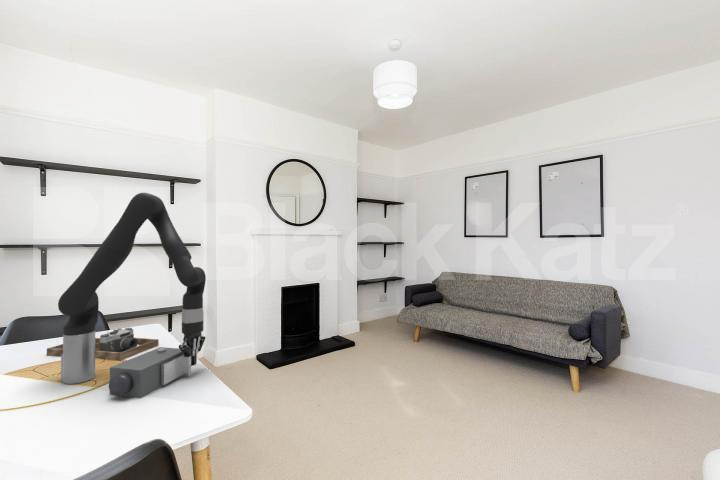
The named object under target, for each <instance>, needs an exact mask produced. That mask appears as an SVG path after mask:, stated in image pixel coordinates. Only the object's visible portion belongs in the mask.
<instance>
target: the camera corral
mask: <svg viewBox="0 0 720 480" xmlns="http://www.w3.org/2000/svg"><path fill="white" fill-rule="evenodd" d="M134 338H135V339H137V341H138V345H137V347H134V348H131V349H129V350H123V351H120V352H108V351H100V348H99V349H96V350H95V359H98V360H99V359H100V360H111V361H112V360H113V361H123V360H125V359H128V358H130V357H133V356H136V355H138V354H141V353H144V352H147V351H148V350H151V349H153V348H156V347H158V346H159V340H160V339H158V338H146V337H145V338H143V337H134ZM159 347H160V346H159Z"/></svg>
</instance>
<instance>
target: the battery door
mask: <svg viewBox="0 0 720 480" xmlns="http://www.w3.org/2000/svg"><path fill="white" fill-rule="evenodd" d="M191 375H192V366H191V356H186V355H180V356H178V357H176V358H174V359H172V360H170V361H168V362H165V363H163V364H161V385H163V386H165V385H167V384H168V382H169V383H171V382H173V381H174V380H176V379H179V378H180V377H182V376H183V377H189V376H191ZM179 376H180V377H179ZM172 380H173V381H172ZM170 381H171V382H170Z"/></svg>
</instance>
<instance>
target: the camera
mask: <svg viewBox="0 0 720 480" xmlns="http://www.w3.org/2000/svg"><path fill="white" fill-rule="evenodd" d="M134 335H135V333H134V329H133V328H132V327H130V326H129V327H124V329H122V328H117V329H113V330H112V331H107V333H104V334H101V335H100V336H99V338H100V342H99V343H100V351H108V352H120V353H121V352H123V351H126V350H129V349H131V348H134V347H137V346H139V345H138V341H137V339H135V338H136V337H134Z"/></svg>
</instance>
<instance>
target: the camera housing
mask: <svg viewBox="0 0 720 480" xmlns="http://www.w3.org/2000/svg"><path fill="white" fill-rule="evenodd" d="M180 355H184V354H183V353H182V351H181V350H180V349H179V347H178V348H175V347H165V346H159V347H157V348H155V349H153V350H151V351H146V353H142V354H140V355H137V356H135V357H133V358H129V359H128V360H125V361H123V362H120V363H117V364H115V365H112V366H110V367H109V381H108V390H109V395H111V396H115V397H120V396H121V397H129V398H137V399H138V398H139V399H141V398H143V397H146V395H149V394H150V393H153V392H154V391H157V390H158V389H159V388H162V387H164V385H161V364H163V363H165V362H168V361H170V360H172V359H174V358H176V357H178V356H180ZM180 377H181V376H179V377H178V378H180ZM173 381H174V380H172V381H170V382H168V383H171V382H173ZM168 383H167V384H168Z"/></svg>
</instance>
